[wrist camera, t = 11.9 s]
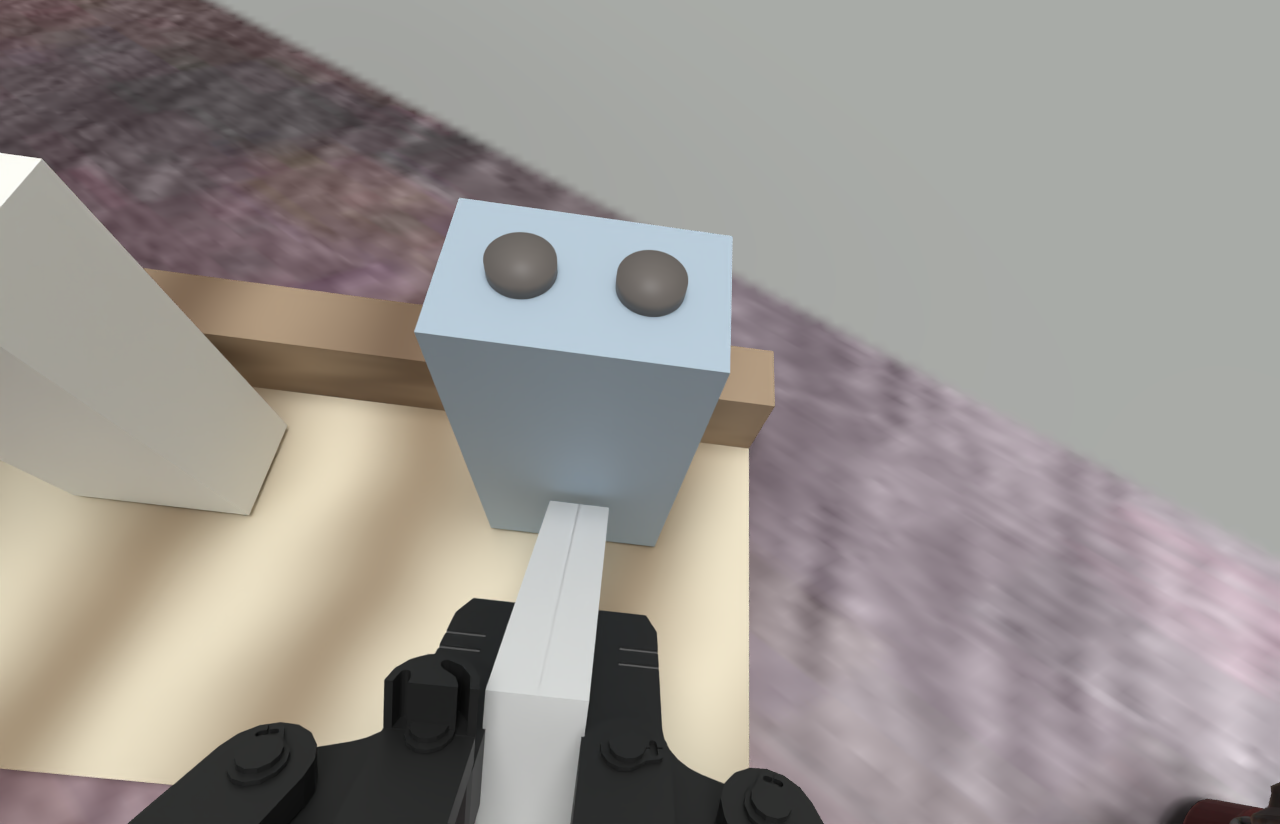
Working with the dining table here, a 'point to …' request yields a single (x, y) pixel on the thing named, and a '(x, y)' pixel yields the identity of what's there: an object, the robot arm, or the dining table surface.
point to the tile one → (113, 366)
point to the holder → (334, 562)
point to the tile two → (577, 359)
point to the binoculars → (1235, 812)
